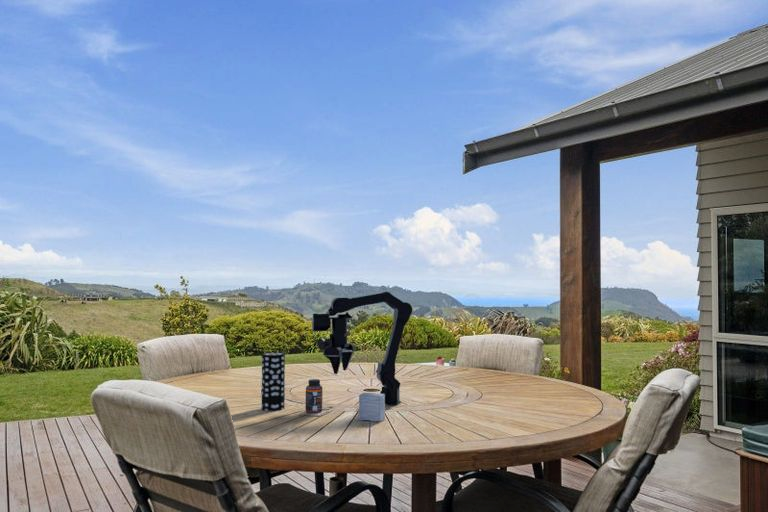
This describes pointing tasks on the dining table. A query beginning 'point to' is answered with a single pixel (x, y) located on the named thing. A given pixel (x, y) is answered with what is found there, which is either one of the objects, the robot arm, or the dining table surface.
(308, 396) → the supplement bottle
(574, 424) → the dining table surface
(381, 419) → the medicine box
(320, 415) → the coaster
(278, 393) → the spotted tube
